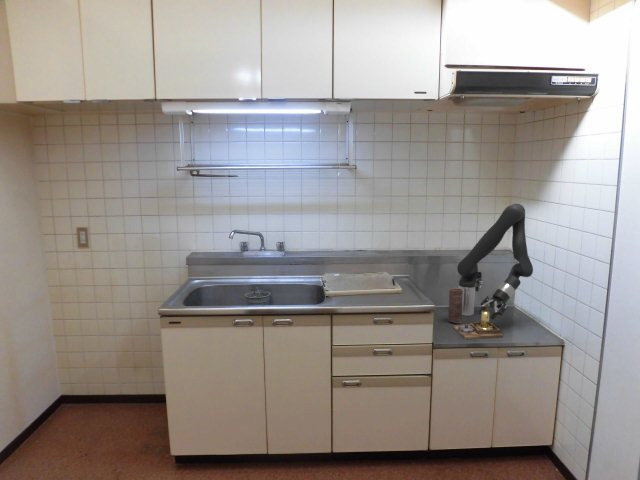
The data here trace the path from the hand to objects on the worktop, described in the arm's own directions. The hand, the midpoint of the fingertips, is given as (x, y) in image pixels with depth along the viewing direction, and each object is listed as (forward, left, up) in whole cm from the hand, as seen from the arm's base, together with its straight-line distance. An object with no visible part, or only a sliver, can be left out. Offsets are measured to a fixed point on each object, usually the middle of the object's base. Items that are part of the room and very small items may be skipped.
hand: (485, 316), depth 218 cm
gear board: (0, -4, -9) cm, 10 cm away
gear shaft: (0, 0, -8) cm, 8 cm away
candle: (-15, -10, -9) cm, 20 cm away
